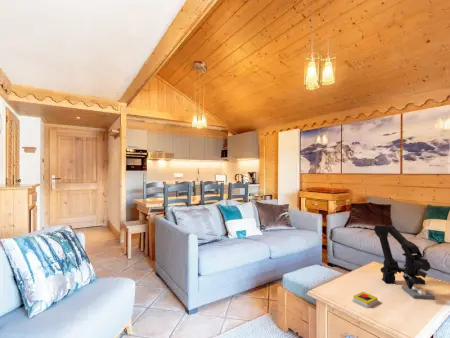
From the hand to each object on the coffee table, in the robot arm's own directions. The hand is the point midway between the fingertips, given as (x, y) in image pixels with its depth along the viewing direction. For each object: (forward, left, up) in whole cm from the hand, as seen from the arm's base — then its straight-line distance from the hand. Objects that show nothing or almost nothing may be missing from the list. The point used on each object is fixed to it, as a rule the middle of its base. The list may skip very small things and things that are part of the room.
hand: (410, 288), depth 158 cm
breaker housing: (+4, 0, -3) cm, 5 cm away
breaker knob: (+5, 0, -1) cm, 5 cm away
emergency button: (-33, -13, -4) cm, 36 cm away
